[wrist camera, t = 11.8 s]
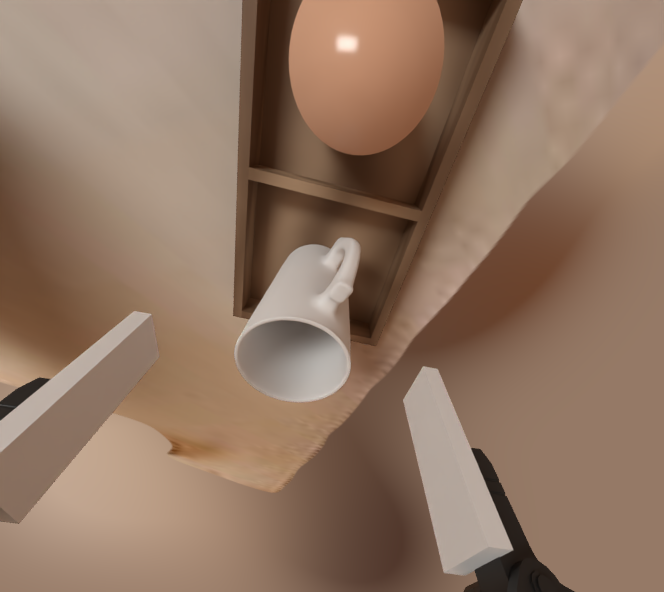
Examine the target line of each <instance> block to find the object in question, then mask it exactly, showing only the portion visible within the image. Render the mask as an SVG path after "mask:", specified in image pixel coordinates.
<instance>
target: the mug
mask: <svg viewBox="0 0 664 592" xmlns="http://www.w3.org/2000/svg"><path fill="white" fill-rule="evenodd" d="M360 253H361V247H360V244H359V242H358V241H356V240H355V239H353V238H344V237H341V238H339V239H338V240H337V241H336V242H335V244H334V245H333V247H332V248H331V249H330V248H328V247H326V246H322V245H317V244H310V245H305V246H302V247H299V248H297V249H296V250H294V251H293V252H292V253H291V254H290V255H289V256H288V258H287V259H286V261H285V262H284V264H283V265H282V267H281V268H280V270H279V272H278V273H277V275H276V277H275V278H274V280H273V282H272V283H271V285H270V287H269V288H268V290H267V291H266V293H265V295H264V296H263V298H262V300H261V301H260V303H259V304H258V306H257V308H256V309H255V311H254V313H253V314H252V316H251V318H250V319H249V321H248V323H247V324H246V326H245V328H244V330H243V332H242V333H241V335H240V337H239V339H238V340H237V343H236V346H235V351H234V357H235V362H236V366H237V368H238V370H239V372H240V374H241V375H242V377H243V378H244V379H245V380H246V381H247V382H248V383H249V384H250V385H251V386H252V387H253V388H255V389H256V390H258V391H259V392H261V393H263V394H265V395H267V396H269V397H272V398H275V399H278V400H282V401H288V402H311V401H317V400H320V399H323V398H326V397H328V396H330V395H332V394H334V393H335V392H336V391H338V390H339V389H340V388H341V387H342V386H343V385H344V384H345V382H346V381H347V379H348V377H349V374H350V370H351V359H350V349H351V344H350V320H349V299H348V297H349V296H350V295H351V294H352V292H353V284H354V280H355V277H356V273H357V270H358V265H359V261H360Z"/></svg>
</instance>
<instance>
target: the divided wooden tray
mask: <svg viewBox="0 0 664 592" xmlns="http://www.w3.org/2000/svg"><path fill="white" fill-rule="evenodd" d="M302 1H303V0H243V2H242V36H241V70H240V104H239V138H238V172H237V206H236V240H235V274H234V308H233V316H236V317H241V318H245V319H250V318H251V316H252V314H253V313H254V311H255V309H256V308H257V306H258V304H259V303H260V301H261V300H262V298H263V296H264V295H265V293H266V291H267V290H268V288H269V287H270V285H271V283H272V282H273V280H274V278H275V277H276V275H277V273H278V272H279V270H280V268H281V267H282V265H283V264H284V262H285V261H286V259H287V258H288V256H289V255H290V254H291V253H292V252H293V251H294V250H296V249H297V248H299V247H302V246H305V245H310V244H317V245H322V246H326V247H328V248H330V249H331V248H332V247H333V245H334V244H335V242H336V241H337V240H338V239H339V238H341V237H344V238H353V239H355V240H356V241H358V242H359V244H360V247H361V253H360V261H359V265H358V270H357V273H356V277H355V280H354V284H353V292H352V294H351V295H350V296H349V297H348V299H349V320H350V341H354V342H359V343H363V344H368V345H373V346H376V345H377V342H378V340H379V338H380V335H381V333H382V331H383V328H384V326H385V324H386V321H387V319H388V316H389V314H390V312H391V309H392V307H393V305H394V302H395V300H396V298H397V295H398V293H399V291H400V288H401V286H402V284H403V281H404V279H405V276H406V274H407V272H408V269H409V267H410V265H411V262H412V260H413V258H414V255H415V253H416V251H417V248H418V246H419V243H420V241H421V239H422V236H423V234H424V232H425V229H426V227H427V225H428V222H429V220H430V218H431V215H432V213H433V211H434V208H435V206H436V203H437V201H438V199H439V196H440V194H441V192H442V189H443V187H444V185H445V182H446V180H447V178H448V175H449V173H450V171H451V168H452V166H453V163H454V161H455V159H456V156H457V154H458V152H459V149H460V147H461V145H462V142H463V140H464V138H465V135H466V133H467V131H468V128H469V126H470V123H471V121H472V119H473V116H474V114H475V112H476V109H477V107H478V105H479V102H480V100H481V98H482V95H483V93H484V90H485V88H486V86H487V83H488V81H489V79H490V76H491V74H492V72H493V69H494V67H495V65H496V62H497V60H498V58H499V55H500V53H501V50H502V48H503V46H504V43H505V41H506V39H507V36H508V34H509V32H510V29H511V27H512V25H513V22H514V20H515V18H516V15H517V13H518V10H519V8H520V6H521V3H522V1H523V0H437V3H438V5H439V8H440V12H441V17H442V21H443V29H444V59H443V67H442V72H441V77H440V80H439V84H438V87H437V90H436V93H435V95H434V98H433V100H432V102H431V104H430V106H429V108H428V110H427V112H426V113H425V115H424V116H423V118H422V119H421V121H420V122H419V123H418V125H417V126H416V127H415V128H414V129H413V131H411V132H410V133H409V134H408V135H407V136H406V137H405V138H404V139H403V140H401V141H400V142H399V143H397V144H396V145H394V146H392V147H391V148H389V149H386V150H384V151H382V152H379V153H375V154H371V155H351V154H346V153H343V152H340V151H337V150H335V149H333V148H331V147H329V146H328V145H327V144H325V143H324V142H322V141H321V140H320V139H319V138H318V137H317V136H316V135H315V134H314V133H313V132H312V130H311V129H310V128H309V127H308V125H307V124H306V122H305V121H304V119H303V117H302V115H301V113H300V111H299V109H298V107H297V104H296V101H295V98H294V95H293V91H292V87H291V81H290V74H289V46H290V39H291V33H292V29H293V25H294V21H295V18H296V15H297V12H298V10H299V7H300V5H301V3H302Z"/></svg>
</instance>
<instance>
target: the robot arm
mask: <svg viewBox="0 0 664 592" xmlns="http://www.w3.org/2000/svg"><path fill="white" fill-rule="evenodd" d="M159 357H160V356H159V350H158V345H157V339H156V334H155V329H154V323H153V318H152V314H149V313H143V312H138V311H133V312H132V313H131V314H130V315H129V316H127V317H126V318H125V319H124V320H122V321H121V322H120V323H119V324H118V325H116V326H115V327H114V328H113V329H111V330H110V331H109V332H108V333H107V334H105V335H104V336H103V337H102V338H101V339H99V340H98V341H97V342H96V343H94V344H93V345H92V346H91V347H90V348H88V349H87V350H86V351H85V352H83V353H82V354H81V355H80V356H79V357H77V358H76V359H75V360H74V361H73V362H71V363H70V364H69V365H68V366H66V367H65V368H64V369H63V370H62V371H60V372H59V373H58V374H57V375H55V376H54V377H53V378H52V379H46V378H40V377H39V378H37V379H35V380H34V381H32V382H30V383H28V384H26V385H24V386H22V387H20V388H18V389H16V390H15V391H14V392H12V393H11V394H10V395H8V396H7V397H6V398H4V399H3V400H2V401H1V402H0V521H1V522H10V523H18V524H19V523H20V522H21V521H22V520H23V518H24V517H25V516H26V515H27V514H28V512H29V511H30V510H31V509H32V508H33V507H34V505H35V504H36V503H37V502H38V501H39V499H40V498H41V497H42V496H43V494H44V493H45V492H46V491H47V490H48V489H49V488H50V486H51V485H52V484H53V482H55V480H56V479H57V478H58V477H59V476H60V474H61V473H62V472H63V471H64V470H65V469H66V467H67V466H68V465H69V464H70V463H71V461H72V460H73V459H74V458H75V457H76V455H77V454H78V453H79V452H80V451H81V450H82V448H83V447H84V446H85V445H86V444H87V442H88V441H89V440H90V439H91V438H92V436H93V435H94V434H95V433H96V432H97V431H98V429H99V428H100V427H101V426H102V424H103V423H104V422H105V421H106V420H107V419H108V417H109V416H110V415H111V414H112V413H113V412H114V410H115V409H116V408H117V407H118V406H119V404H120V403H121V402H122V401H123V400H124V398H125V397H126V396H127V395H128V394H129V393H130V391H131V390H132V389H133V388H134V387H135V385H136V384H137V383H138V382H139V381H140V379H141V378H142V377H143V376H144V375H145V374H146V372H147V371H148V370H149V369H150V368H151V366H152V365H153V364H154V363H155V362H156V360H157V359H158V358H159ZM403 402H404V406H405V409H406V414H407V419H408V423H409V427H410V431H411V435H412V439H413V444H414V448H415V452H416V457H417V461H418V465H419V469H420V474H421V478H422V482H423V486H424V490H425V495H426V498H427V503H428V507H429V512H430V515H431V520H432V524H433V528H434V533H435V537H436V541H437V545H438V550H439V553H440V558H441V562H442V566H443V570H444V573H449V574H457V575H467V574H469V573H471V572H473V571H475V573H476V576H477V580H478V581H477V582H475V583H473V584H471V585H469V586H467V587H466V588H465V590H464V592H574V591H572V590H571V589H569V588H567V587H565V586H563V585H562V584H561V583H559V581H558V579H557V578H556V577H555V575H554V574H553V573H552V572H551V571H550V570H549V569H548V568H547V567H546V566H544V565H543V564H542V563H541V562H539V561H538V560H537V558H536V557H535V555H534V553H533V552H532V550H531V548H530V546H529V543H528V541H527V539H526V537H525V535H524V533H523V531H522V528H521V526H520V524H519V522H518V520H517V518H516V515H515V513H514V512H513V509H512V507H511V505H510V502H509V500H508V498H507V496H505V492H504V489H503V488H502V485H501V483H499V479H498V477H497V474H496V472H495V470H494V468H493V466H492V464H491V463H490V461H489V460H488V458H487V457H486V456H485V454H484V453H483V452H482V451H481V450H480V449H475V448H470V445H469V443H468V440H467V438H466V436H465V433H464V431H463V429H462V426H461V424H460V421H459V419H458V417H457V414H456V412H455V410H454V407H453V405H452V403H451V400H450V398H449V395H448V393H447V391H446V388H445V386H444V383H443V381H442V378H441V376H440V374H439V372H438V369H435V368H429V367H425V366H423V367H422V369H421V371H420V373H419V374H418V376H417V378H416V379H415V381H414V383H413V384H412V386H411V388H410V389H409V391H408V393H407V394H406V396H405V398H404V399H403Z"/></svg>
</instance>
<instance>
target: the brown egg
mask: <svg viewBox="0 0 664 592" xmlns="http://www.w3.org/2000/svg"><path fill="white" fill-rule="evenodd" d="M443 59H444V29H443V21H442V17H441V12H440V8H439V5H438V3H437V0H303V1H302V3H301V5H300V7H299V10H298V12H297V15H296V18H295V21H294V25H293V29H292V33H291V39H290V46H289V74H290V81H291V87H292V91H293V95H294V98H295V101H296V104H297V107H298V109H299V111H300V113H301V115H302V117H303V119H304V121H305V122H306V124H307V125H308V127H309V128H310V129H311V130H312V132H313V133H314V134H315V135H316V136H317V137H318V138H319V139H320V140H321V141H322V142H324V143H325V144H327V145H328V146H329V147H331V148H333V149H335V150H337V151H340V152H343V153H346V154H351V155H371V154H375V153H379V152H382V151H384V150H386V149H389V148H391V147H392V146H394V145H396V144H397V143H399V142H400V141H401V140H403V139H404V138H405V137H406V136H407V135H408V134H409V133H410V132H411V131H413V129H414V128H415V127H416V126H417V125H418V123H419V122H420V121H421V119H422V118H423V116H424V115H425V113H426V112H427V110H428V108H429V106H430V104H431V102H432V100H433V98H434V95H435V93H436V90H437V87H438V84H439V80H440V77H441V72H442V67H443Z"/></svg>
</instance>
